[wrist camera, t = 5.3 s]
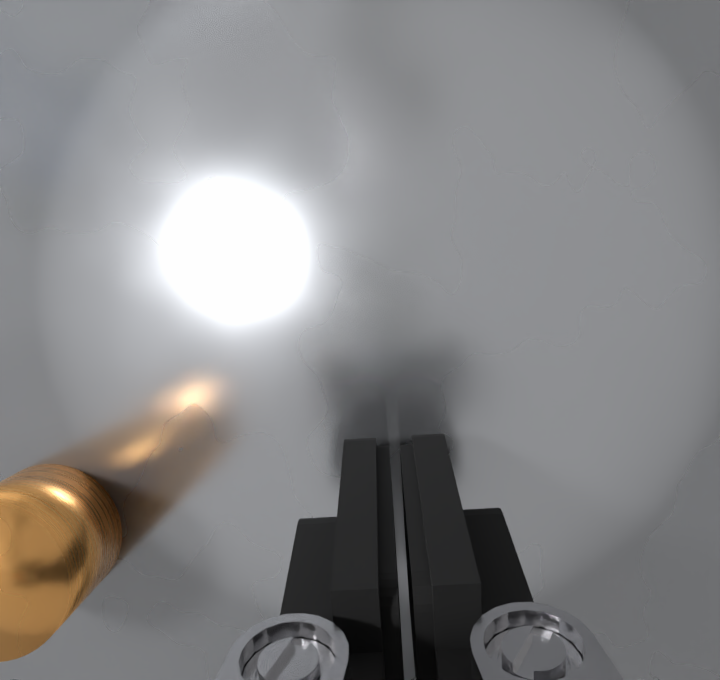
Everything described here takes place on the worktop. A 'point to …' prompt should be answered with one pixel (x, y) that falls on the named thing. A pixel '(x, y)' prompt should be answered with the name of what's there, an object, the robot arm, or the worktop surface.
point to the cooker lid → (353, 309)
